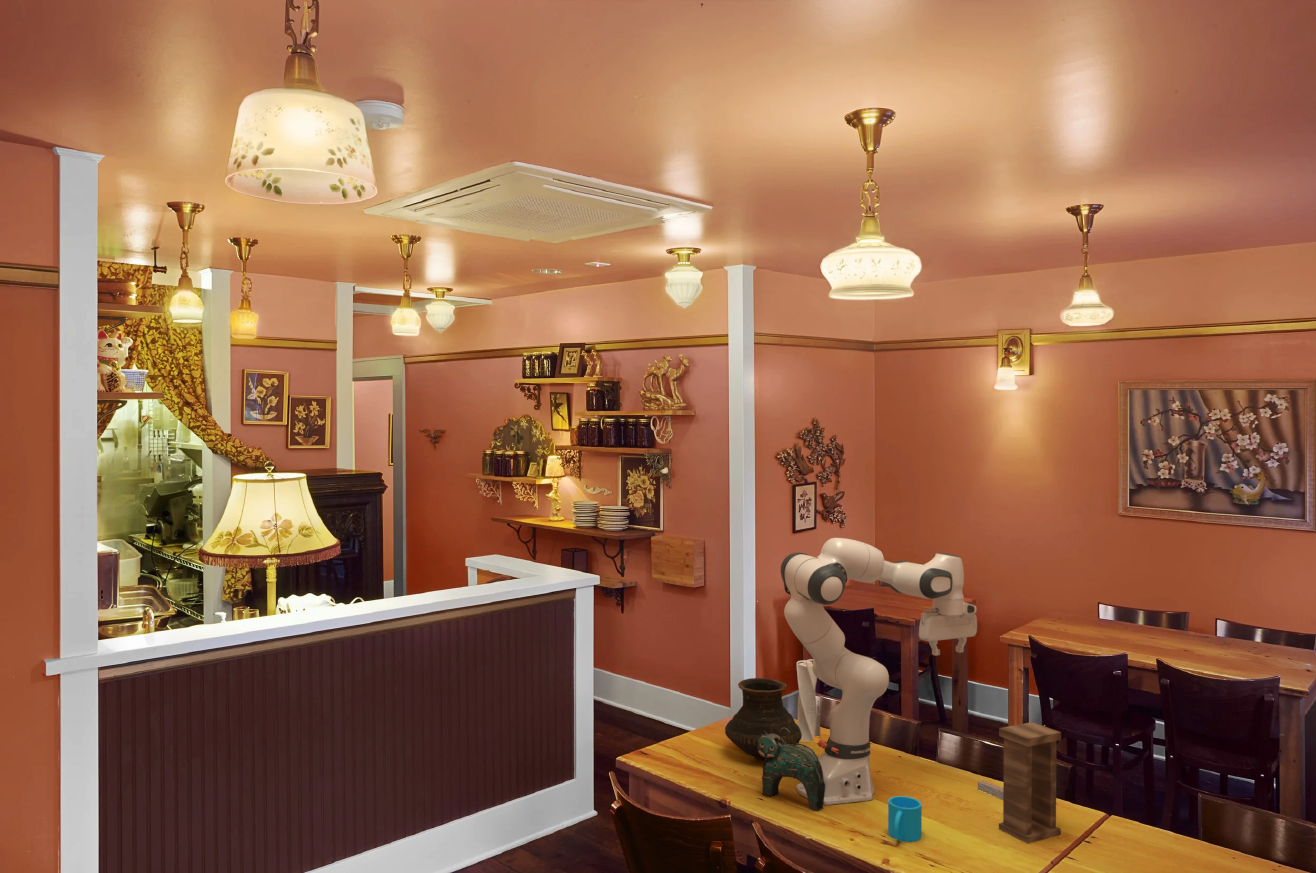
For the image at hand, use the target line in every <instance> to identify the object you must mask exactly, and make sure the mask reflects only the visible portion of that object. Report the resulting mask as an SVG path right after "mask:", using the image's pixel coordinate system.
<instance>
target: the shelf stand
mask: <svg viewBox="0 0 1316 873" xmlns="http://www.w3.org/2000/svg"><path fill="white" fill-rule="evenodd" d="M998 732H999V733H998V736H999V737H1001V738H1003V786H1002V788H1003V800H1002V801H1003V802H1002V803H1003V806H1002V808H1003V809H1002V812H1003V813H1002V814H1003V815H1002V817H1003V819H1002V820H1003V822H1000V823H998V830H999V831H1002V832H1003V833H1006V834H1008V835H1010V836H1011V837H1014V838H1015V839H1018V840H1020V841H1021V842H1023V843H1025V844H1031V843H1035V842H1038V841H1042V840H1045V839H1049V838H1053V837H1057V836H1060V835H1061V834H1062V833H1061V832H1062V831H1061V830H1062V829H1061V827H1058V826H1057V741H1062V731H1059V730H1056V729H1052V728H1050V727H1048V726H1044V725H1042V724H1038V723H1036V722H1026V723H1020V724H1015V725H1010V726H1004V727H999V729H998Z"/></svg>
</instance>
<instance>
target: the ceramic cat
mask: <svg viewBox="0 0 1316 873" xmlns="http://www.w3.org/2000/svg"><path fill="white" fill-rule="evenodd" d="M782 729H786V730H787V731H788V732H789V733H790V734H791V732H790V731H789V730H788V729H787V728H785V727H783V728H781V729H780V733H781V730H782ZM757 749H758V753H759V754H760V755H761V756H762V757H764V758H765V759H764V762H763V765H762V778H761V781H762V783H761V784H762V796H765V797H766V798H767V797H768V798H774V797H776V796H778V795H779V793H780V792H779V791H780V789H779V786H780V783H781V780H782V779H783V778H792V779H795V780H797V781H798V782H800V783H802V784H803V785H804V787H805V790H806V793H807V797H808V798H807V801H808V802H807V803H808V809H809V810H811V811H815V812H819V811H821V810H822V809H824V804H823V802H824V793H825V782H824V777H823V771H822V767H821V764H820V762H819V760H818V756H817V753H816V752H815V751H814V750H813V748H811V747H810V746H807V745H806V744H802V743H798V744H786V743H785V742H784V741H783V739H782V738H781V734H780V736H779V735H777V734H774V733H773V734H767V733H766V732H765V731H763V732H762V735H761V737H760V738H759V740H758V742H757Z"/></svg>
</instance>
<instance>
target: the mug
mask: <svg viewBox="0 0 1316 873" xmlns="http://www.w3.org/2000/svg"><path fill="white" fill-rule="evenodd" d="M887 801H888V802H887V803H888V804H887V807H888V808H887V810H888V811H887V813H888V814H887V834H888V836H889V837H890V838H892V839H894V840H897V841H899V842H905V843H914V842H917V841H920V840H921V839H922V836H923V835H922V831H923V830H922V826H923V825H922V824H923V823H922V821H923V820H922V816H923V813H922V812H923V811H922V810H923V808H922V802H921V801H920V800H919V799H917V798H913V797H911V796H904V795H901V796H900V795H898V796H892V797H890V798H888V800H887Z"/></svg>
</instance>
